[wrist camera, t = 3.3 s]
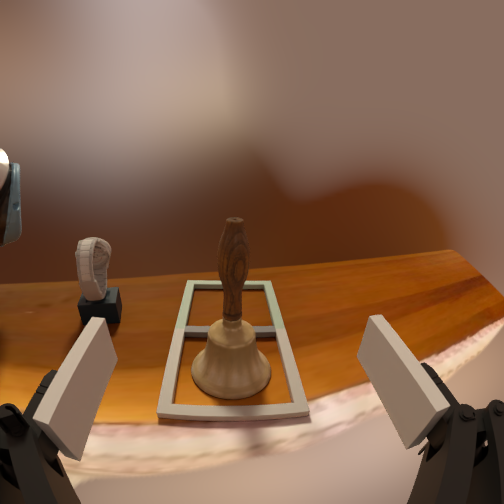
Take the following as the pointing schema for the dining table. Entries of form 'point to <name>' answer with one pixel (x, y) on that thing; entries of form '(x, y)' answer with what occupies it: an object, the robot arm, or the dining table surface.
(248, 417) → the window frame
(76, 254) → the watch
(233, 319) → the hand bell
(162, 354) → the dining table surface
